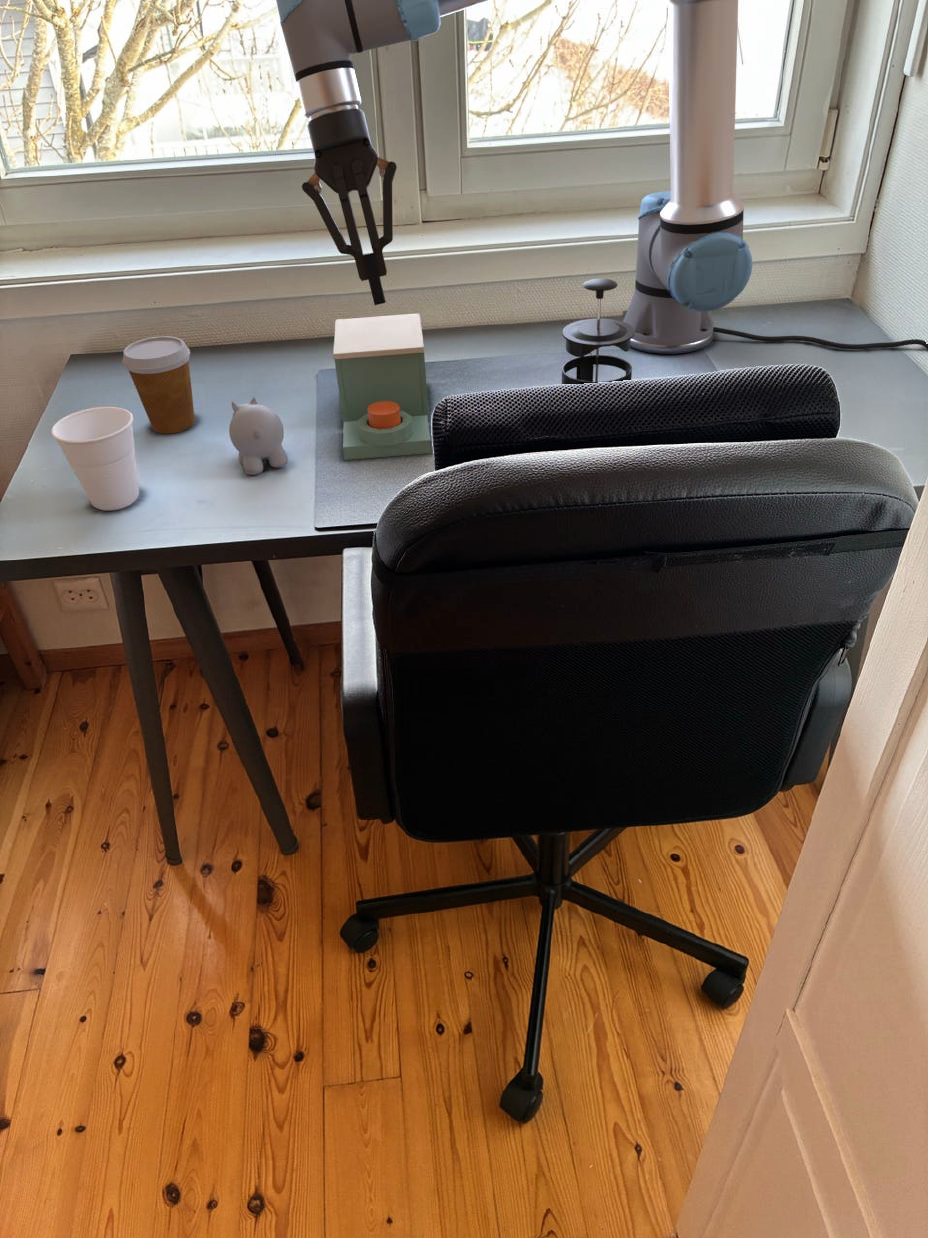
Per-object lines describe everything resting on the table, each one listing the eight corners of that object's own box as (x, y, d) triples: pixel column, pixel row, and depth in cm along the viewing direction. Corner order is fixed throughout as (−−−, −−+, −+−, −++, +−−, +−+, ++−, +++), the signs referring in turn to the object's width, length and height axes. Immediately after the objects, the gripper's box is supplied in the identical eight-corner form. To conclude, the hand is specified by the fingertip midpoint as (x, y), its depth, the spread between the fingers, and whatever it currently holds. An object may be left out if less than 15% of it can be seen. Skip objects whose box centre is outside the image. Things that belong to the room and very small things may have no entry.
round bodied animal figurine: (274, 434, 137) (264, 379, 132) (295, 469, 128) (284, 411, 123) (225, 445, 135) (213, 389, 130) (243, 481, 126) (230, 423, 121)
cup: (61, 507, 123) (33, 430, 116) (121, 475, 129) (98, 400, 123) (110, 527, 118) (85, 448, 112) (170, 492, 125) (149, 416, 118)
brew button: (400, 415, 132) (398, 399, 131) (401, 429, 128) (399, 413, 127) (369, 417, 132) (367, 402, 130) (369, 431, 128) (367, 415, 127)
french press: (639, 465, 124) (652, 291, 110) (570, 474, 123) (574, 299, 109) (612, 427, 134) (621, 261, 120) (548, 435, 133) (549, 269, 119)
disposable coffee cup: (131, 424, 142) (109, 347, 135) (188, 405, 147) (170, 329, 139) (158, 445, 136) (137, 365, 129) (217, 424, 141) (199, 346, 134)
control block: (428, 427, 136) (426, 401, 134) (431, 455, 130) (429, 428, 127) (345, 434, 136) (342, 408, 134) (344, 462, 129) (340, 435, 127)
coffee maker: (429, 420, 138) (424, 349, 132) (343, 427, 138) (334, 356, 131) (425, 386, 148) (420, 318, 142) (345, 392, 148) (336, 324, 141)
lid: (424, 352, 131) (423, 346, 130) (333, 359, 131) (333, 353, 130) (419, 318, 142) (419, 312, 141) (336, 324, 141) (335, 319, 141)
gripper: (384, 105, 123) (426, 291, 132) (288, 129, 124) (336, 312, 133) (382, 97, 116) (426, 293, 125) (281, 122, 117) (332, 316, 126)
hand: (380, 303), depth 129 cm, fingers closed
